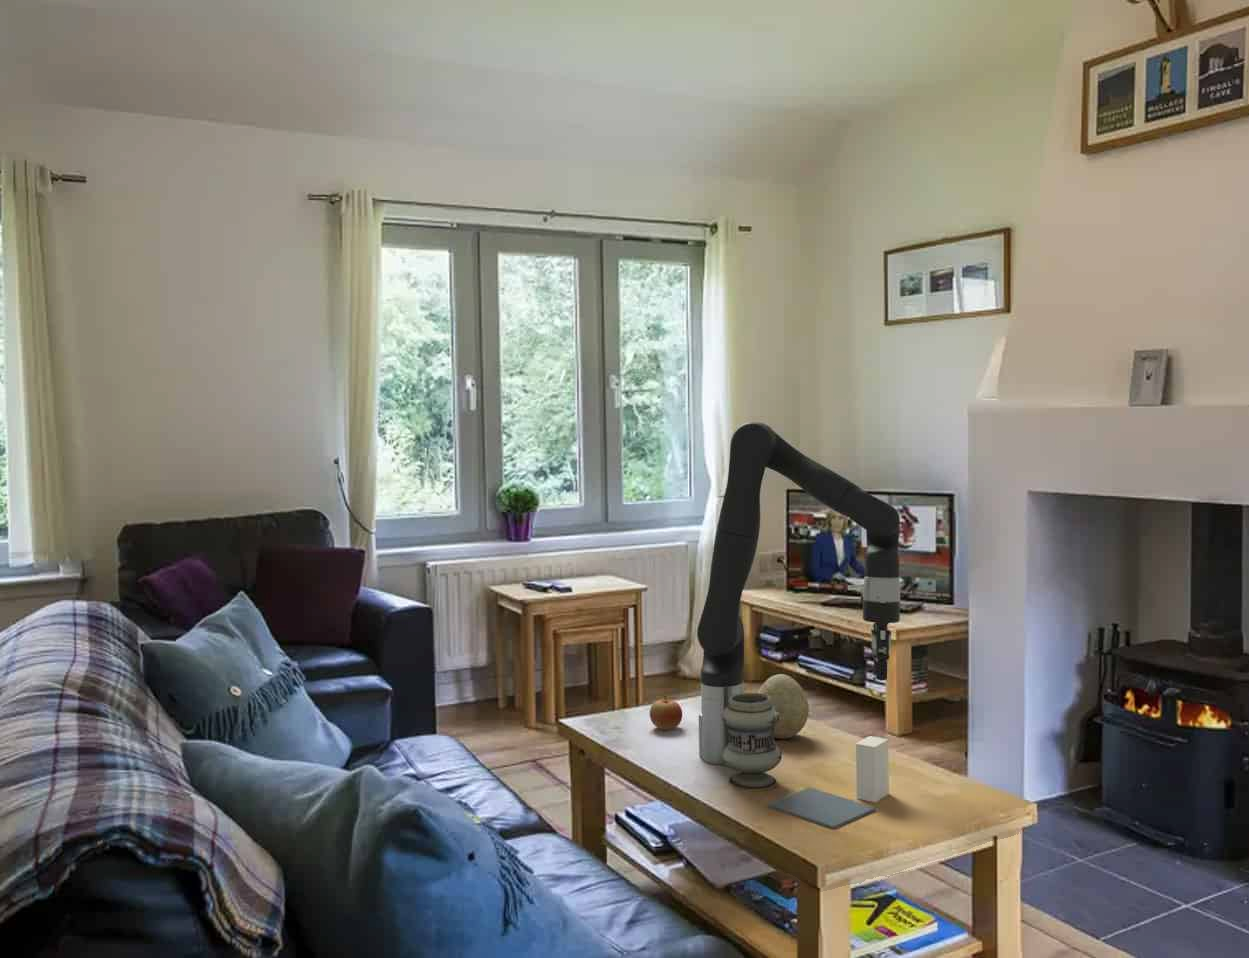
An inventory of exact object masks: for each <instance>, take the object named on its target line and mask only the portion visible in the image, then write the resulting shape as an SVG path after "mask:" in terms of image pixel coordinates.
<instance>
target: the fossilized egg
mask: <svg viewBox="0 0 1249 958" xmlns="http://www.w3.org/2000/svg"><path fill="white" fill-rule="evenodd" d="M757 693H762V694H766V695H768V696H770V699H771V703H772V706H774V707H775V708H776V709H777V710H778V712H779V721H778V722H777V724H776V725H774V738H775V739H780V740H781V739H789V738H792V737H794V736H796V735H798V734H799V733H800V732H801V731H802V730H803V728H804V727H805V726H806V723H807V720H808V718H809V713H810V706H809V702H808V701H809V700H808V698H807V696H806V692H805V691H804V689H803V688H802V687H801V685H800V684H799V683H798V682H797V681H796V680H795V679H794V678H793V677H791V676H790V675H787V674H784V673H779V674H778V673H777V674H775V675H772V676H770V677H769V678H767V679H766V680H765V682H763V684H762V685H761V686H760V688H759V689H758V691H757Z"/></svg>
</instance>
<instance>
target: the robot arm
mask: <svg viewBox="0 0 1249 958" xmlns="http://www.w3.org/2000/svg"><path fill="white" fill-rule="evenodd" d="M766 468H767V469H770V470H772V471H774V472H777V473H778V474H780V475H782V476H783V477H785V478H786V479H788V480H790V481H791V482H793V483H794V484H795V485H797V486H798V487H800V488H801V489H802V490H803V491H804V492H806V493H807V494H808V495H810V497H812V498H814V499H815V500H816V501H818V502H819V503H821V504H823V505H825V506H826V507H828V508H830V509H831V510H833V511H835V512H837V513H838V514H840V515H842V516H843V517H844V516H845V517H847V518H849V520H851V521H853V522H854V523H855V524H857V526H859V527H861V528H863V529H864V530H865V531H866V534H865V535H866V537H865V538H866V550H865V551H866V552H865V557H864V579H863V580H864V581H863V589H862V591H863V593H862V619H863V620H864V622H867V623H873V624H872V627H873V629H870V638H871V648H872V654H873V656H874V657H873V660H874V661H873V672H874V674H875V679H876V680H877V681H887V679H888V662H889V660H890V654H889V653H890V652H891V641H892V631H891V630H889V629H888V625H889V624H896V623H900V620H901V617H900V615H901V585H900V584H901V583H900V556H899V542H900V541H899V540H900V529H901V527H900V524H901V517H900V514H899V512H898V510H897V509H896V508H895V507H894V506H892V505H891V504H889V503H887V502H885V501H883V500H882V499H879V498H878V497H876V496H874V495H872V494H870V493H868V492H866V491H865V490H863V489H862V488H861V487H860V486H858V485H857V484H856V483H854V482H852V481H850V480H849V479H847V478H845V477H843V475H841V474H838V473H836V472H835V471H833V470H832V469H830V468H829V467H826V466H824V465H822V464H821V463H818V462H817V461H815V460H813V459H812V458H810V457H809V456H807V455H805V454H804V453H802V452H801V451H799V450H797V448H795V447H793V446H792V445H791V444H790V443H788V442H787V441H786V440H785V439H783V438H782V437H781V436H780V435H779V434H778V433H776V432H775V431H774V430H773V429H772V428H771V427H770V426H769V425H767V424H766V423H763V422H759V421H755V422H753V421H752V422H746V423H743V424H741V425H740V426H738V428H736V430H735V431H734V432H733V434H732V436H731V440H730V446H729V461H728V474H727V483H726V488H725V492H724V496H723V500H722V503H721V508H720V513H719V517H718V522H717V524H716V525H717V526H716V532H715V537H714V542H713V543H714V544H713V549H712V556H711V562H710V563H711V564H710V573H709V581H708V589H707V595H706V599H705V602H704V605H703V608H702V613H701V616H700V619H699V622H698V626H697V631H696V633H697V634H696V636H697V641H698V643H699V646H700V647H701V648H702V650H703V658H702V665H701V669H700V689H701V691H700V693H701V694H700V695H701V713H699V714H698V751H699V753H698V754H699V755H698V756H699V758H702V759H703V761H704V762H707V763H710V764H715V765H727V764H726V763H725V761H724V759H723V752H724V750H725V748H726V747H727V746H728V742H729V741H728V726H727V725H726V724H725V723H724V721H723V719H722V713H723V711H724V710H725V708H726V707H728V706H729V703H730V702H729V701H730V697H731V696H733V695H736V694H740V693H744V685H743V683H744V681H743V680H744V678H743V677H744V676H743V675H744V673H743V672H744V667H745V629H744V623H743V621H742V619H741V617H740V616H739V615H740V614H739V613H740V607H741V598H742V595H743V591H744V589H745V586H746V583H747V580H748V578H749V575H750V572H751V569H752V566H753V563H754V561H755V560H754V559H755V557H756V552H757V546H758V542H759V535H760V531H761V530H760V529H761V490H762V487H761V486H762V483H763V479H764V476H765V475H764V474H765V470H766Z"/></svg>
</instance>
